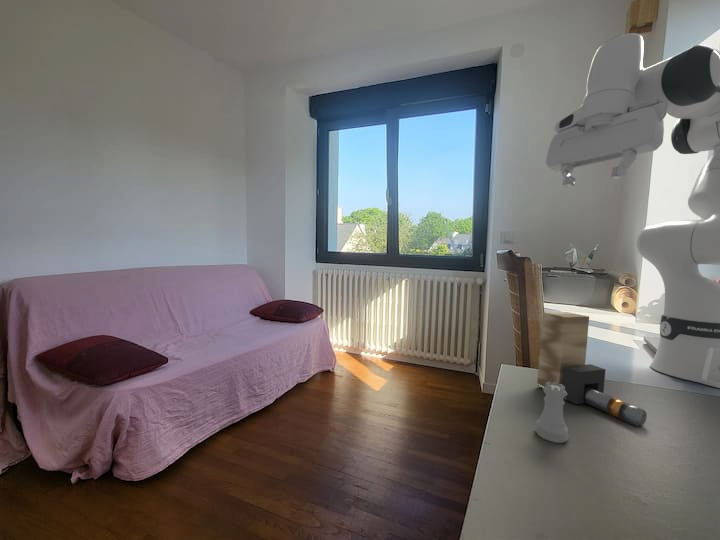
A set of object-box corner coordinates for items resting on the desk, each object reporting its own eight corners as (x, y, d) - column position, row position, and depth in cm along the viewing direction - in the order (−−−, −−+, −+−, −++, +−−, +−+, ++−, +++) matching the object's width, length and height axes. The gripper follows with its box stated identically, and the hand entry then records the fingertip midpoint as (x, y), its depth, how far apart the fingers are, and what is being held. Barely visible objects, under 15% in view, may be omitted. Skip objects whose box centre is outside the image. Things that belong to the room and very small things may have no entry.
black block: (562, 397, 65) (564, 366, 65) (587, 394, 68) (590, 364, 67) (576, 404, 63) (579, 371, 62) (602, 400, 65) (605, 369, 65)
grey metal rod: (553, 391, 69) (555, 376, 69) (564, 389, 70) (565, 375, 70) (633, 427, 55) (635, 410, 55) (645, 425, 56) (647, 408, 56)
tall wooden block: (536, 385, 71) (542, 312, 70) (560, 383, 73) (566, 311, 73) (557, 395, 66) (564, 317, 66) (582, 392, 69) (589, 316, 68)
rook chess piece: (566, 448, 48) (571, 393, 48) (532, 436, 51) (536, 385, 50) (569, 435, 52) (574, 385, 51) (537, 425, 54) (541, 377, 54)
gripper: (678, 103, 60) (663, 177, 59) (565, 137, 78) (553, 194, 78) (660, 86, 57) (645, 164, 57) (548, 126, 76) (536, 185, 75)
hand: (591, 181), depth 67 cm, fingers open, 8 cm apart
